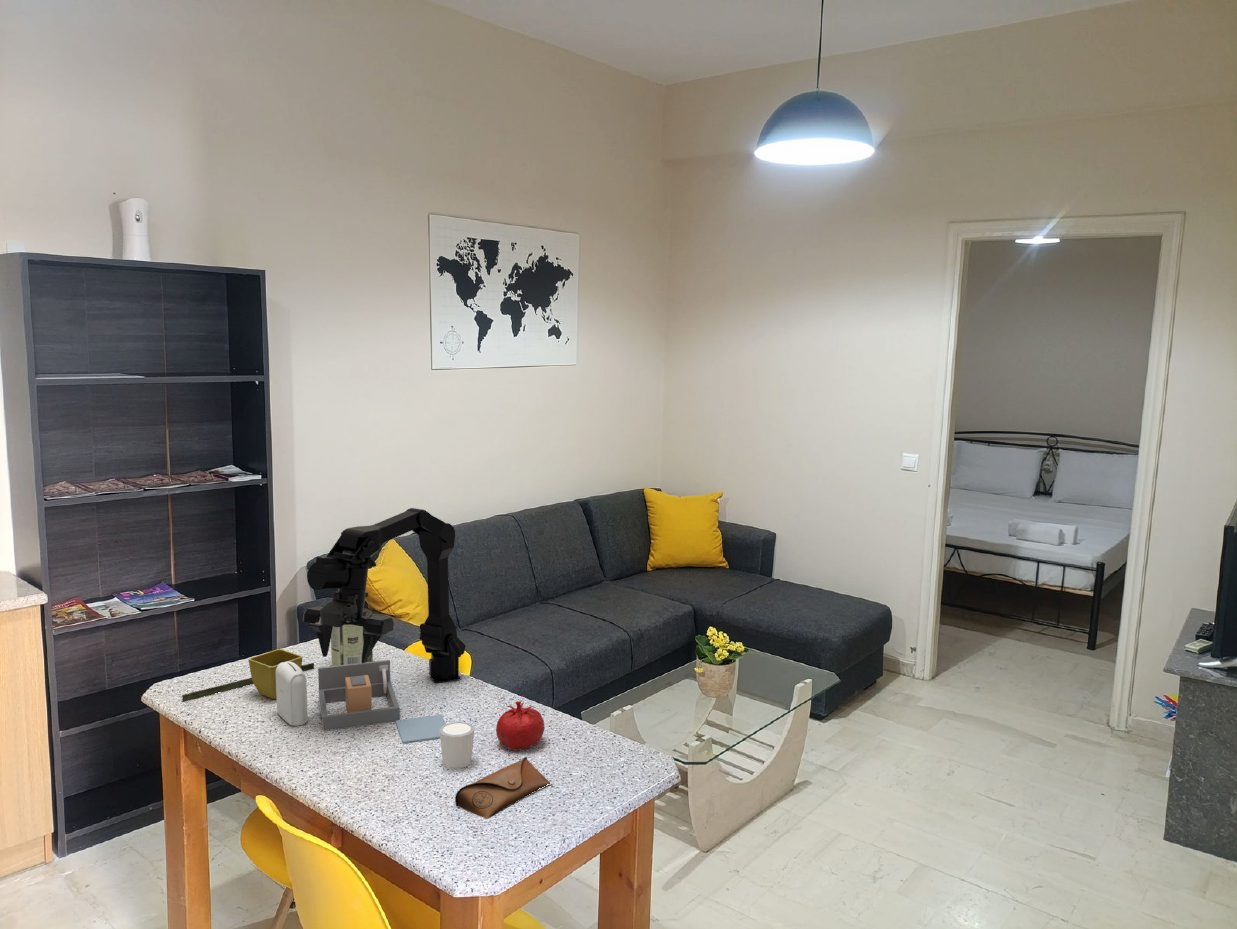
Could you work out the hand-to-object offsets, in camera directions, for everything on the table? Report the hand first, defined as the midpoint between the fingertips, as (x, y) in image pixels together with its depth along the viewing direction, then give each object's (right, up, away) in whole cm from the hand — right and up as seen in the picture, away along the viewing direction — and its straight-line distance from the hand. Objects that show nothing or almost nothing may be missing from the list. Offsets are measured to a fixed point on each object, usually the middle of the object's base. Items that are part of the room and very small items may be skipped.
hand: (344, 659), depth 190 cm
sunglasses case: (+38, -20, -26) cm, 50 cm away
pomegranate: (+38, -17, -5) cm, 42 cm away
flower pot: (-21, -12, +17) cm, 30 cm away
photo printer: (-13, -14, +4) cm, 19 cm away
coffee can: (-9, -10, +35) cm, 37 cm away
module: (+1, -14, +9) cm, 16 cm away
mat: (+17, -15, 0) cm, 23 cm away
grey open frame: (+1, -13, +9) cm, 16 cm away
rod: (-29, -11, +23) cm, 39 cm away
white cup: (+27, -17, -14) cm, 35 cm away
